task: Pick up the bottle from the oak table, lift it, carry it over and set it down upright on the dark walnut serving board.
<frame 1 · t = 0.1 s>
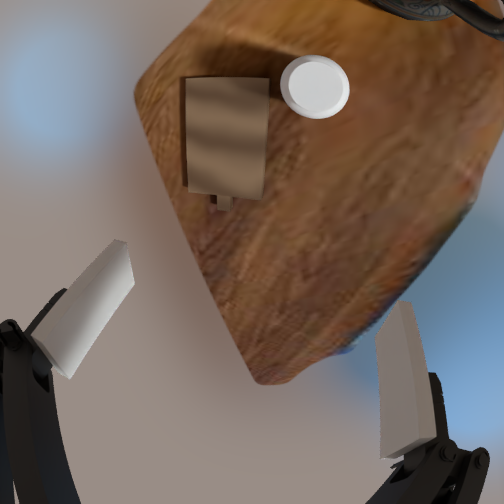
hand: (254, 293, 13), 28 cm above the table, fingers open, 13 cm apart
walnut board: (227, 136, 36), on the table
supplement bottle: (313, 86, 30), on the table
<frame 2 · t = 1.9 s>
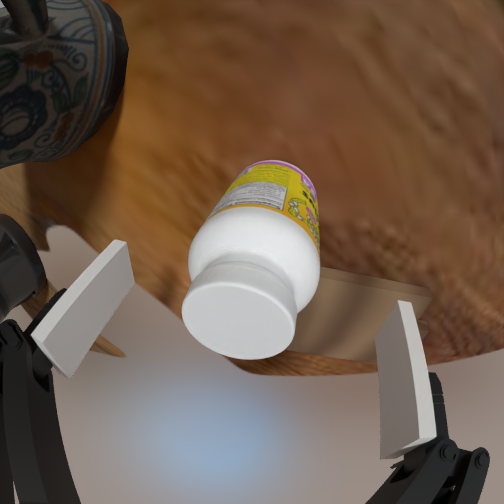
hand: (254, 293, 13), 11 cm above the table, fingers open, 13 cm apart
walnut board: (334, 313, 27), on the table
beer stein: (72, 58, 16), on the table
supplement bottle: (274, 197, 21), on the table
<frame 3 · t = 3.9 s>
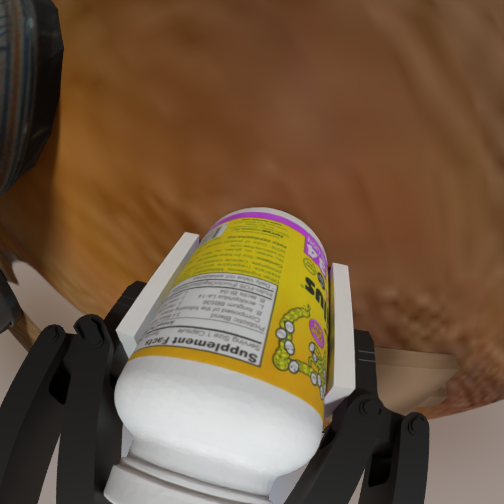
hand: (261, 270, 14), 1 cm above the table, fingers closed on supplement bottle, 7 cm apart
walnut board: (339, 382, 20), on the table
beer stein: (11, 66, 10), on the table
supplement bottle: (265, 256, 15), on the table, touching gripper
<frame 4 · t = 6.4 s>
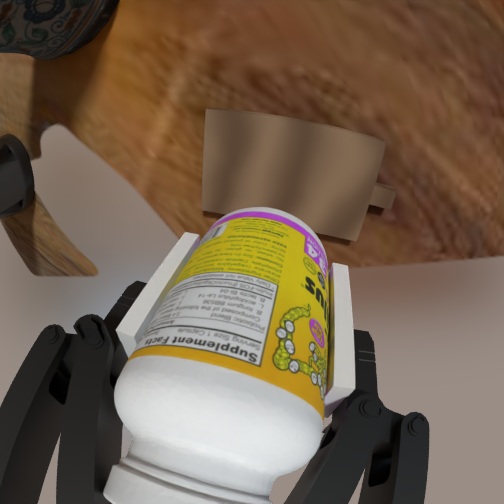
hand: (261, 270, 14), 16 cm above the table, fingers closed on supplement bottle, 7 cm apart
walnut board: (288, 171, 27), on the table
supplement bottle: (265, 256, 15), point 15 cm above the table, touching gripper
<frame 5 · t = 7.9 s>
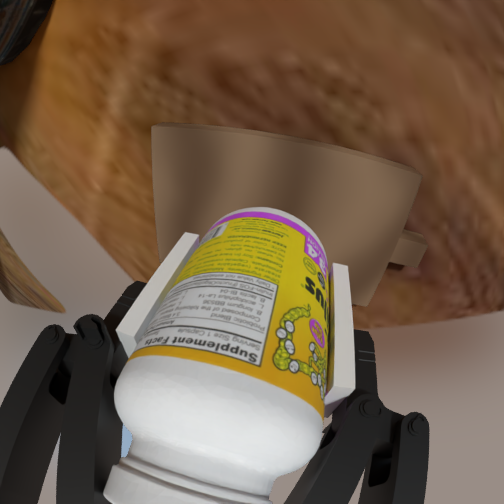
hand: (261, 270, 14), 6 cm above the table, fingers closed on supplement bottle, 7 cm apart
walnut board: (275, 213, 19), on the table
supplement bottle: (265, 256, 15), point 5 cm above the table, touching gripper
when the fingers open (3 cm above the table, at t = 9.3 s): supplement bottle stays where it is, resting on walnut board.
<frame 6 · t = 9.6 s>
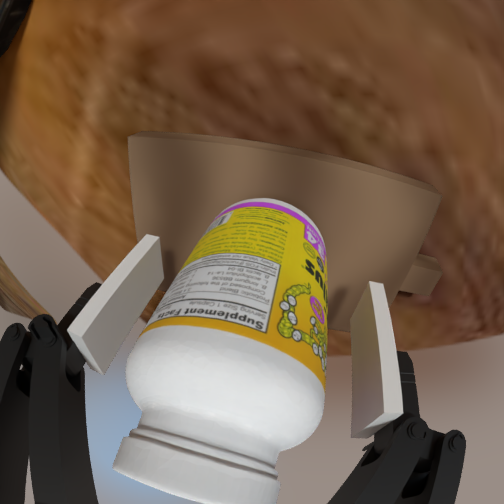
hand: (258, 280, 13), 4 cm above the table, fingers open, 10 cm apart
walnut board: (271, 235, 17), on the table
supplement bottle: (267, 246, 16), point 1 cm above the table, touching walnut board
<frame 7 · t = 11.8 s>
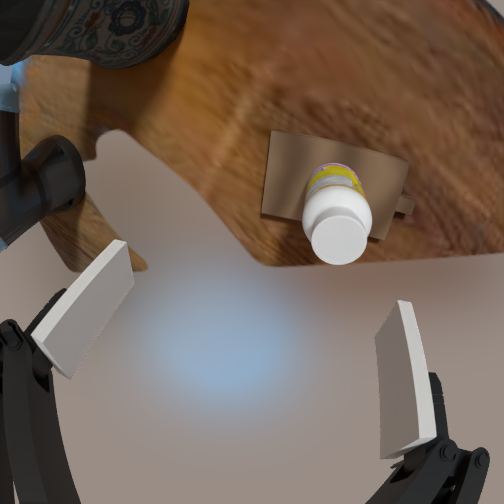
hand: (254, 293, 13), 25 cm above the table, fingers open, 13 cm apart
walnut board: (334, 183, 33), on the table
beer stein: (145, 8, 24), on the table
supplement bottle: (333, 186, 32), point 1 cm above the table, touching walnut board
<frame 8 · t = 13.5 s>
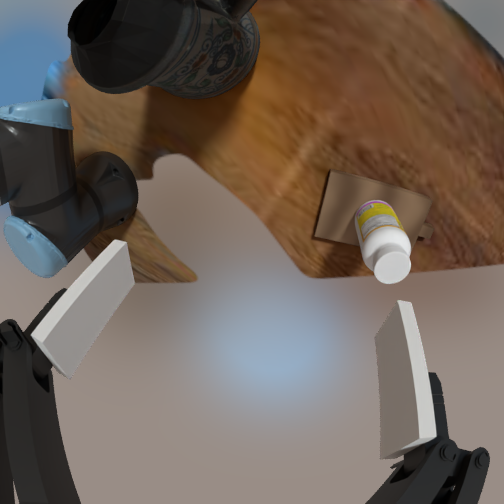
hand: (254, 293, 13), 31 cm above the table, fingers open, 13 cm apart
walnut board: (373, 213, 40), on the table
beer stein: (212, 38, 30), on the table
supplement bottle: (374, 217, 39), point 1 cm above the table, touching walnut board
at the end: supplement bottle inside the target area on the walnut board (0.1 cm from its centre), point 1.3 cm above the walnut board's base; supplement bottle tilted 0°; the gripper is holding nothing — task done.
